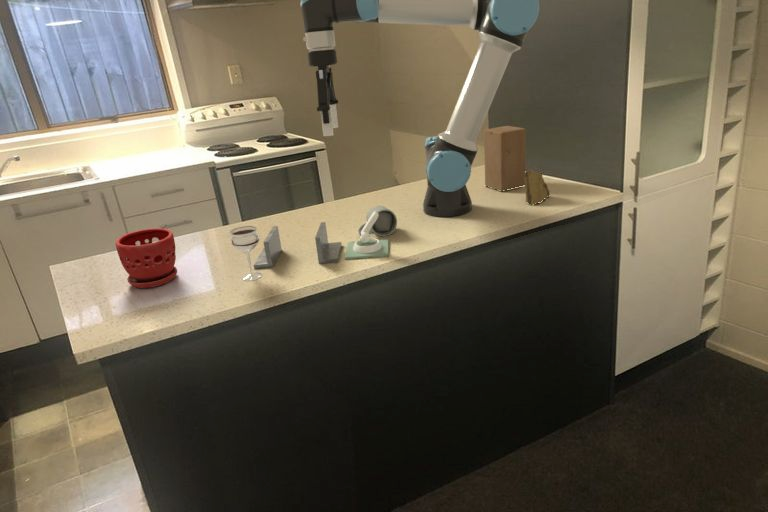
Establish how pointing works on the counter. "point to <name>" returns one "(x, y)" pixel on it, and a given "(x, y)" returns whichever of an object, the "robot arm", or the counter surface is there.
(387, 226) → the ceramic mug
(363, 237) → the white curved piece
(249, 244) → the wineglass
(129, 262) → the plant pot
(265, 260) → the dark grey bookends
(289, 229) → the counter surface
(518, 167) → the wooden block
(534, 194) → the rock
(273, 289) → the counter surface
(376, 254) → the mat
